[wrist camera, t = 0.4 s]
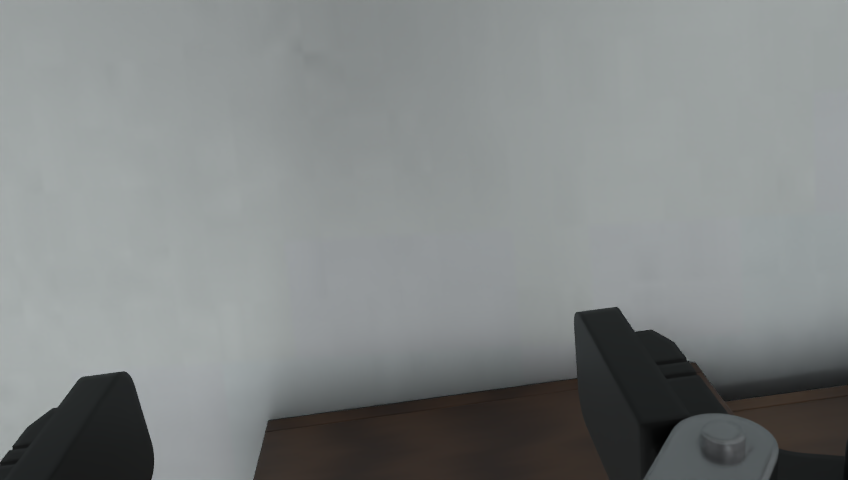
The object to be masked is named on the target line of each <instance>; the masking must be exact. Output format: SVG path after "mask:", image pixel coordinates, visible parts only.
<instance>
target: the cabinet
mask: <svg viewBox="0 0 848 480" xmlns="http://www.w3.org/2000/svg"><path fill="white" fill-rule="evenodd" d="M690 364H691V365H692V366H693V368H694V369H695V370H696V373H697V375H699V376H700V377H701V378H702V380H703V381H704V382H705V383H706V385H707V386H708V387H709V389H710V390H711V391H712V393H713V394H714V395H715V397H716V398H717V399H718V401H719V402H720V403H721V405H722V406H723V407H724V408H725V410H726V411H727V412H728V414H729V415H734V413H733V412H732V411H731V409H730V408H729V407H728V405H727V404H726V403H725V401H724V400H723V399H722V398H721V396H720V395H719V394H718V392H717V391H716V390H715V388H714V387H713V386H712V384H711V383H710V382H709V380H708V379H707V378H706V376H705V375H704V374H703V372H702V371H701V369H700V368H699V367H698V366H697V364H696V363H690ZM253 480H609V478H608V475H607V473H606V471H605V468H604V466H603V464H602V461H601V459H600V457H599V454H598V452H597V450H596V447H595V445H594V443H593V440H592V438H591V436H590V434H589V431H588V429H587V427H586V424H585V421H584V418H583V415H582V410H581V406H580V400H579V393H578V380H577V379H570V380H562V381H555V382H548V383H541V384H533V385H526V386H519V387H511V388H504V389H497V390H489V391H482V392H475V393H467V394H460V395H453V396H446V397H438V398H431V399H424V400H416V401H409V402H402V403H394V404H387V405H380V406H373V407H365V408H358V409H351V410H343V411H336V412H329V413H321V414H314V415H307V416H299V417H292V418H285V419H278V420H270V421H268V423H267V427H266V431H265V436H264V440H263V444H262V448H261V451H260V455H259V459H258V463H257V467H256V471H255V475H254V479H253Z"/></svg>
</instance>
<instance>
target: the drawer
mask: <svg viewBox="0 0 848 480" xmlns="http://www.w3.org/2000/svg"><path fill="white" fill-rule="evenodd" d="M725 403H726V404H727V405H728V407H729V408H730V409H731V411H732V412H733V413H734V415H735V416H739V417H743V418H746V419H748V420H751V421H753V422H755V423H757V424H759V425H761V426H762V427H764V428H765V429H767V430H768V431H769V432H770V433H771V434H772V435H773V436H774V438H775V439H776V441H777V444H778V448H779V449H783V450H787V451H792V452H800V453H811V454H824V455H837V456H845V449H846V442H847V439H848V385H843V386H835V387H828V388H821V389H814V390H806V391H799V392H792V393H784V394H777V395H770V396H762V397H755V398H748V399H740V400H733V401H726V402H725Z"/></svg>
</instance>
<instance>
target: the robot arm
mask: <svg viewBox="0 0 848 480" xmlns="http://www.w3.org/2000/svg"><path fill="white" fill-rule="evenodd" d="M574 330H575V347H576V363H577V380H578V393H579V400H580V406H581V410H582V415H583V418H584V421H585V424H586V427H587V429H588V431H589V434H590V436H591V438H592V440H593V443H594V445H595V447H596V450H597V452H598V454H599V457H600V459H601V461H602V464H603V466H604V468H605V471H606V473H607V475H608V478H609V480H848V439H847V442H846V449H845V456H837V455H824V454H811V453H800V452H792V451H787V450H783V449H779V448H778V444H777V441H776V439H775V438H774V436H773V435H772V434H771V433H770V432H769V431H768V430H767V429H765V428H764V427H762V426H761V425H759V424H757V423H755V422H753V421H751V420H748V419H746V418H743V417H739V416H735V415H729V414H728V412H727V411H726V410H725V408H724V407H723V406H722V405H721V403H720V402H719V401H718V399H717V398H716V397H715V395H714V394H713V393H712V391H711V390H710V389H709V387H708V386H707V385H706V383H705V382H704V381H703V380H702V378H701V377H700V376H699V375H697V373H696V370H695V369H694V368H693V366H692V365H691V364H690V362H689V361H688V362H687V360H686V357H685V356H684V355H683V353H682V352H681V351H680V349H679V348H678V347H677V345H676V344H675V343H674V342H673V341H671V340H669V339H668V338H666V337H664V336H662V335H660V334H659V333H657V332H655V331H653V330H646V331H638V332H634V330H633V329H632V327H631V326H630V324H629V323H628V321H627V320H626V318H625V317H624V315H623V314H622V312H621V311H620V309H619V308H618V307H612V308H605V309H597V310H589V311H582V312H576V313H575V317H574ZM12 447H13V450H9V452H8V453H7V454H6V455H5V457H4V458H3V459H2V461H1V462H0V480H151V479H152V475H153V469H154V453H153V446H152V442H151V439H150V435H149V432H148V429H147V425H146V422H145V419H144V415H143V412H142V409H141V405H140V402H139V399H138V395H137V392H136V388H135V385H134V382H133V380H132V378H131V376H130V375H129V374H128V373H127V372H124V371H123V372H116V373H108V374H101V375H93V376H85V377H81V378H80V379H79V380H78V381H77V382H76V384H75V385H74V386H73V388H72V389H71V390H70V392H69V393H68V394H67V396H66V397H65V398H64V400H63V401H62V402H61V404H60V405H59V406H58V408H52V409H51V410H50V411H48V412H47V413H46V414H44V415H43V416H42V417H40V418H39V419H38V420H36V421H35V422H34V423H32V424H31V425H30V426H28V427H27V428H26V430H25V431H24V432H23V434H22V435H21V436H20V437H19V439H18V440H17V441H16V443H15V444H14V445H13V446H12Z"/></svg>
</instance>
